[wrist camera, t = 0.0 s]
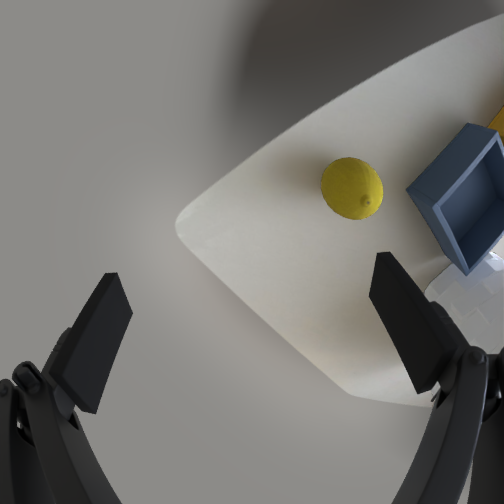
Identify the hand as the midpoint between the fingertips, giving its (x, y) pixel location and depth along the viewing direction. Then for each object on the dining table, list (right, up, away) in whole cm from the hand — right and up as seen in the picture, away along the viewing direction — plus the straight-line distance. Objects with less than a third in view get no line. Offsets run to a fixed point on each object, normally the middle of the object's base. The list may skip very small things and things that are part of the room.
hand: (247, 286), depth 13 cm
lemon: (+9, +10, +14) cm, 20 cm away
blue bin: (+28, +9, +15) cm, 33 cm away
